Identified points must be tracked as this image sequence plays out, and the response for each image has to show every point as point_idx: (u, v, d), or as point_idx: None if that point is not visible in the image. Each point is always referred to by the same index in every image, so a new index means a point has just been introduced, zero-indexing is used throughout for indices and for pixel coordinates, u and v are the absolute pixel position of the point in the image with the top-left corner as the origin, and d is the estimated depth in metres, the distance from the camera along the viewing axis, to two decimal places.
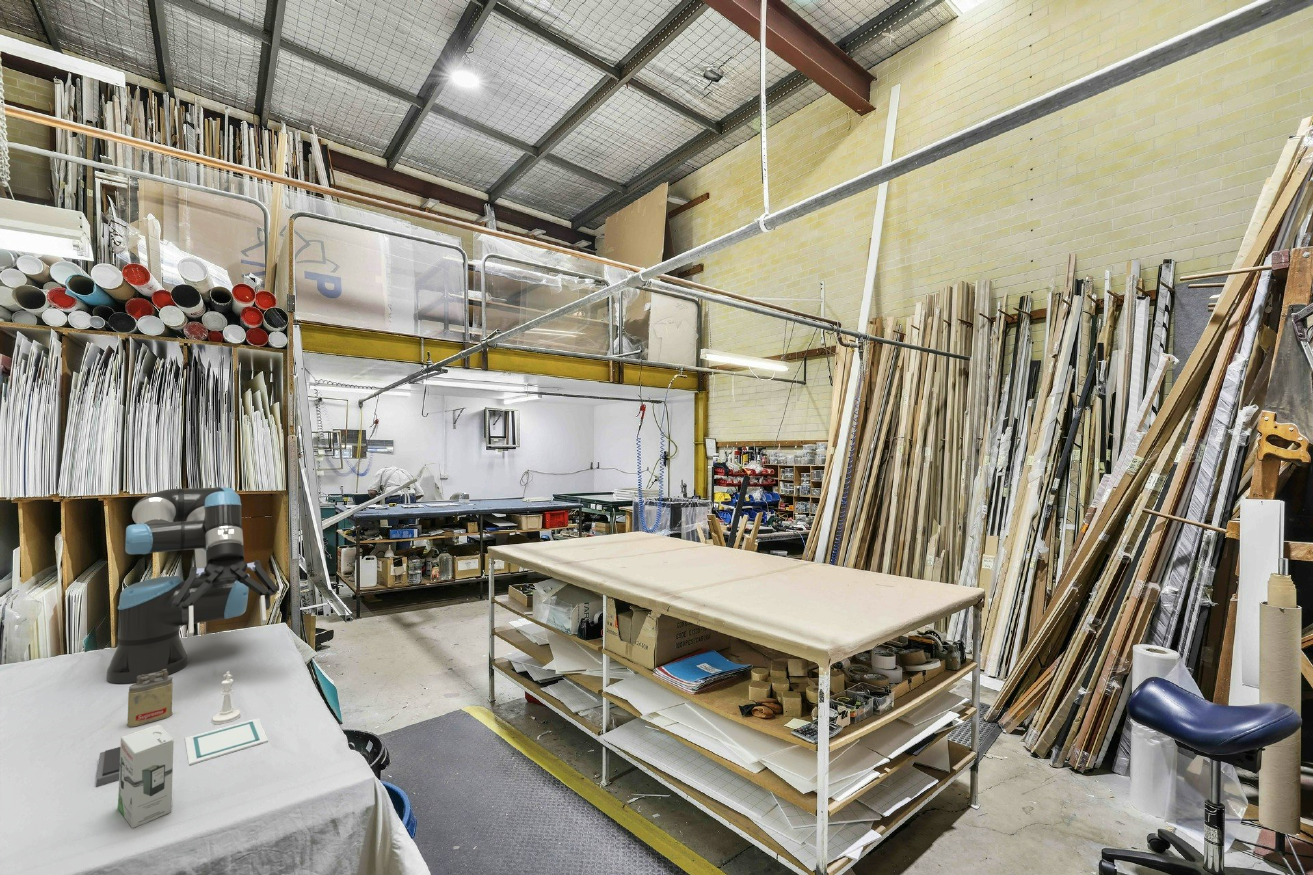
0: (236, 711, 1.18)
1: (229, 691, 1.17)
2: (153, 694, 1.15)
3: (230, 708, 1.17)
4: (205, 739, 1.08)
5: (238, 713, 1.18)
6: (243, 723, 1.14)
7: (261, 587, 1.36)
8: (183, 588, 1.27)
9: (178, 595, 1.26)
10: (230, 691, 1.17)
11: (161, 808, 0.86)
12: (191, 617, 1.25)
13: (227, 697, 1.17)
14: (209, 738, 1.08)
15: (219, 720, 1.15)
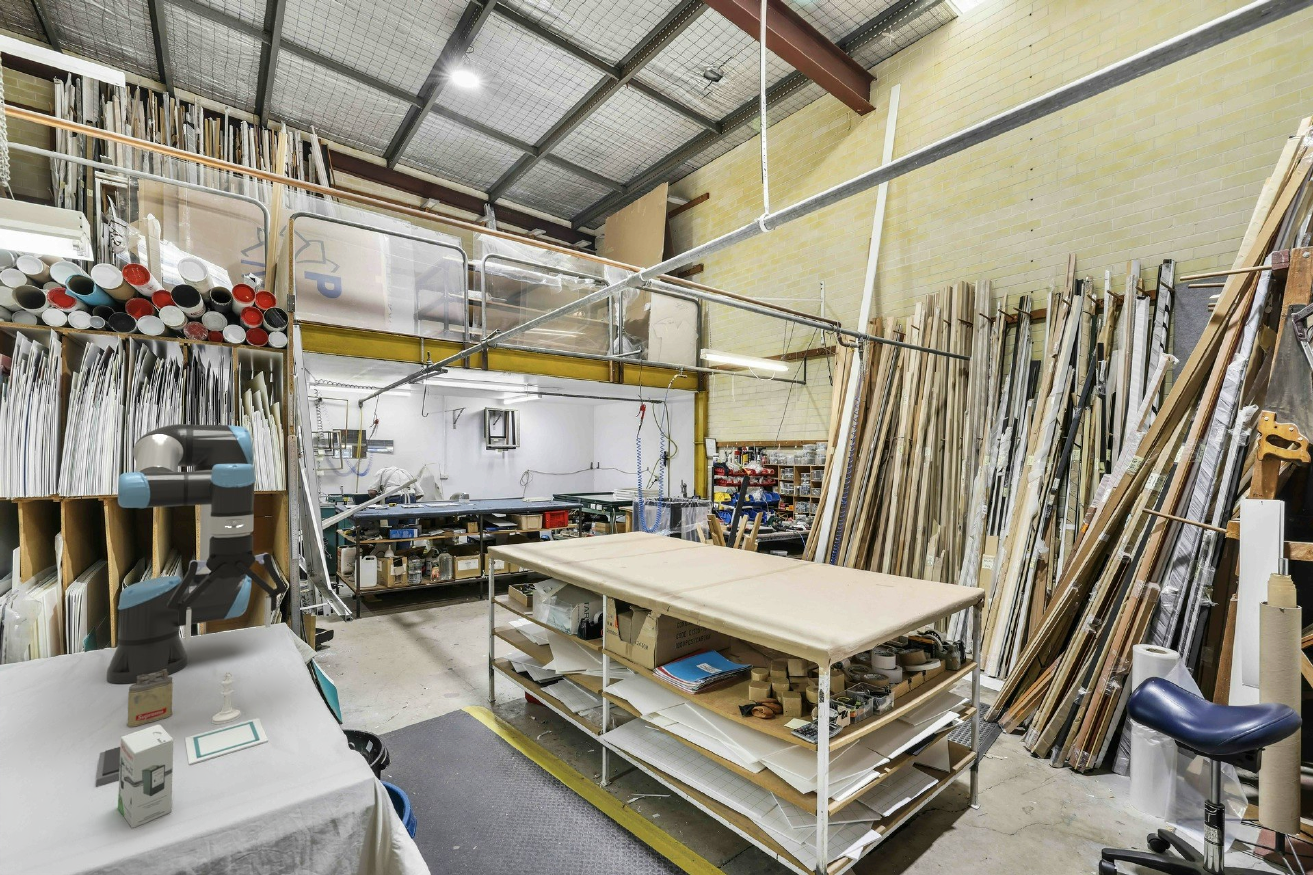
0: (236, 711, 1.18)
1: (229, 691, 1.17)
2: (153, 694, 1.15)
3: (230, 708, 1.17)
4: (205, 739, 1.08)
5: (238, 713, 1.18)
6: (243, 723, 1.14)
7: (268, 588, 1.21)
8: (181, 588, 1.11)
9: (175, 597, 1.10)
10: (230, 691, 1.17)
11: (161, 808, 0.86)
12: (188, 623, 1.12)
13: (227, 697, 1.17)
14: (209, 738, 1.08)
15: (219, 720, 1.15)
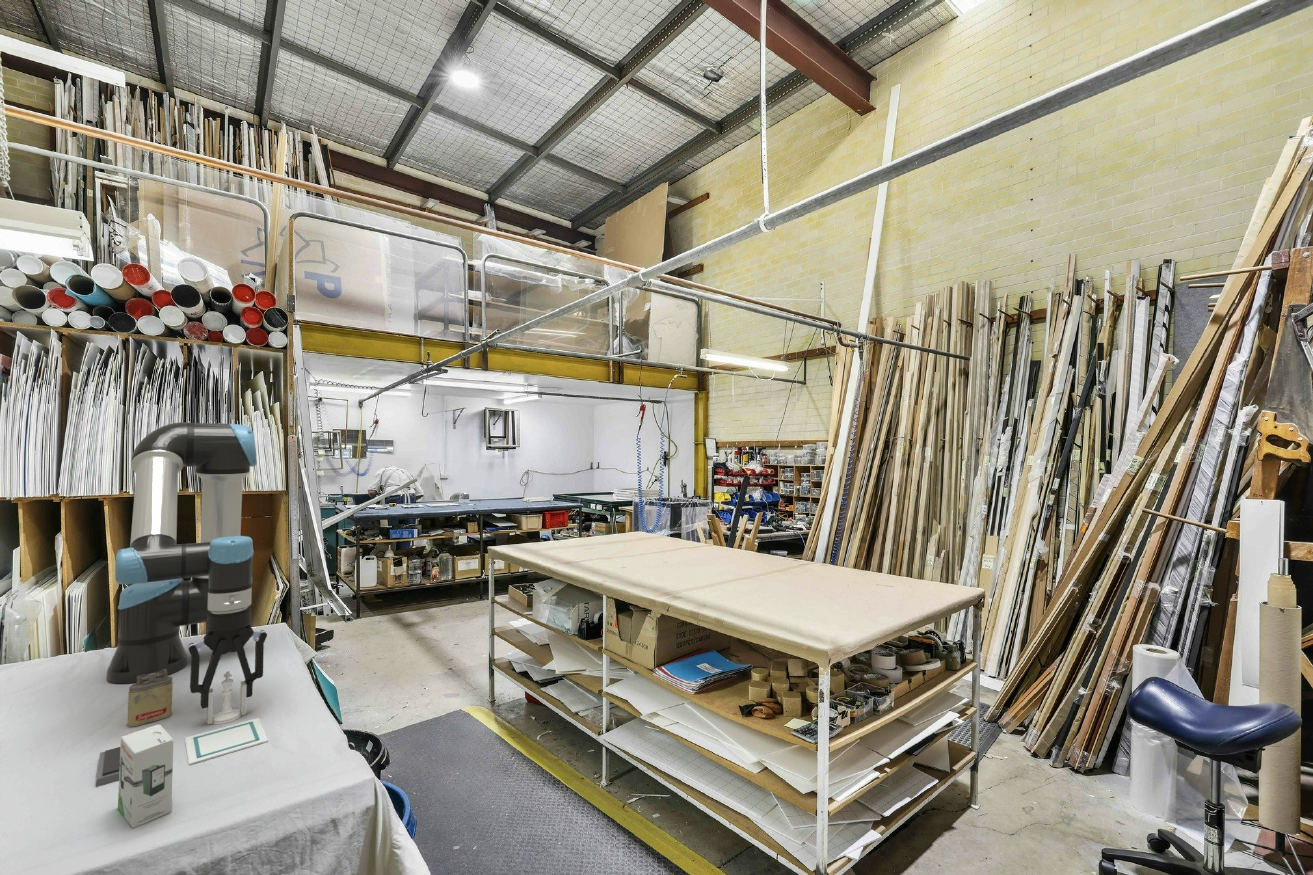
0: (236, 711, 1.18)
1: (229, 691, 1.17)
2: (153, 694, 1.15)
3: (230, 708, 1.17)
4: (205, 739, 1.08)
5: (238, 713, 1.18)
6: (243, 723, 1.14)
7: (248, 672, 1.19)
8: (194, 672, 1.12)
9: (193, 681, 1.12)
10: (230, 691, 1.17)
11: (161, 808, 0.86)
12: (211, 706, 1.14)
13: (227, 697, 1.17)
14: (209, 738, 1.08)
15: (219, 720, 1.15)
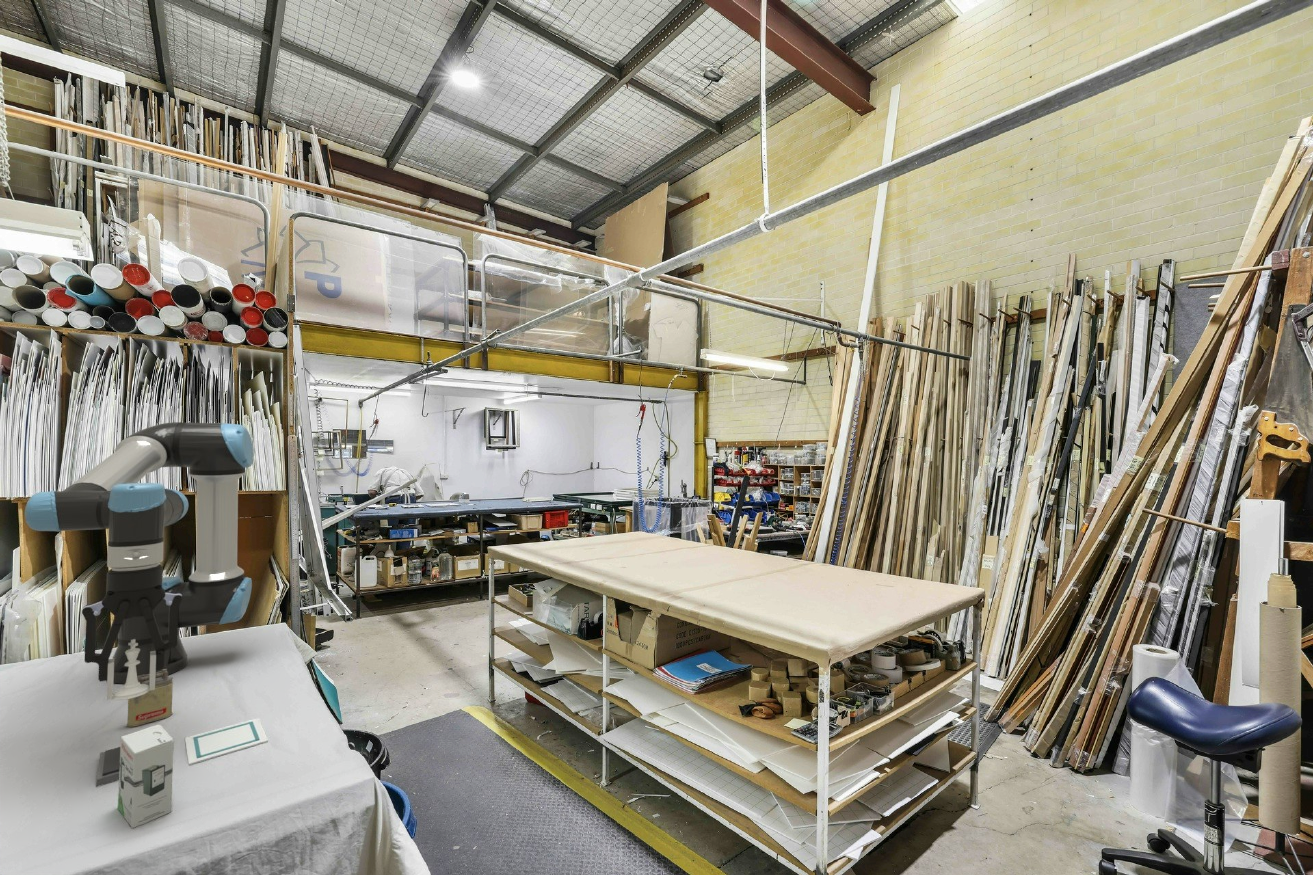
0: (144, 686, 1.01)
1: (134, 662, 1.00)
2: (153, 694, 1.15)
3: (136, 682, 1.00)
4: (205, 739, 1.08)
5: (145, 688, 1.01)
6: (243, 723, 1.14)
7: (158, 640, 1.02)
8: (88, 639, 0.96)
9: (87, 649, 0.96)
10: (136, 662, 1.00)
11: (161, 808, 0.86)
12: (110, 678, 0.98)
13: (132, 669, 1.00)
14: (209, 738, 1.08)
15: (121, 695, 0.98)
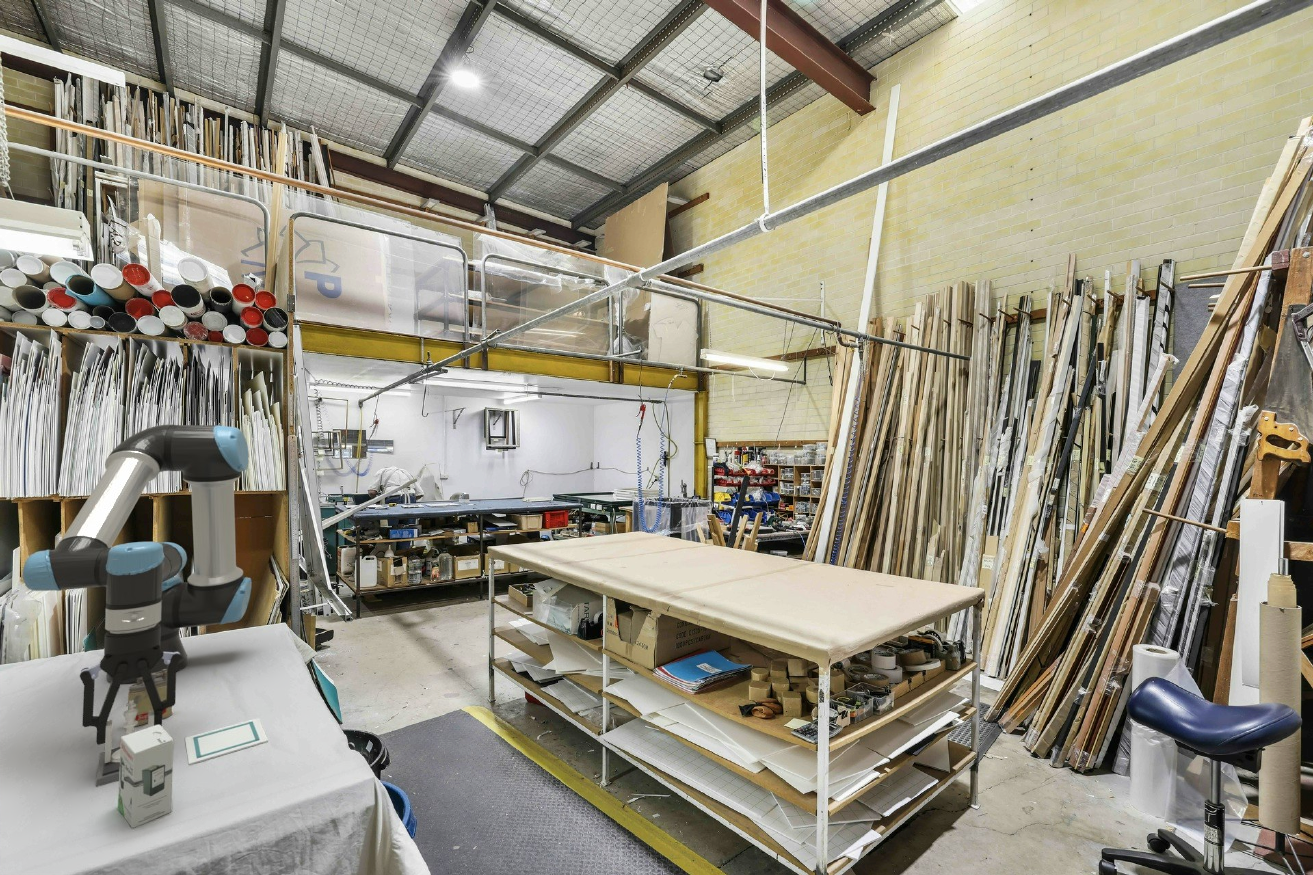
0: None
1: (132, 723, 1.00)
2: None
3: None
4: (205, 739, 1.08)
5: None
6: (243, 723, 1.14)
7: (156, 700, 1.02)
8: (86, 703, 0.96)
9: (85, 713, 0.95)
10: (134, 723, 1.00)
11: (161, 808, 0.86)
12: (108, 741, 0.97)
13: (130, 730, 1.00)
14: (209, 738, 1.08)
15: (119, 758, 0.98)
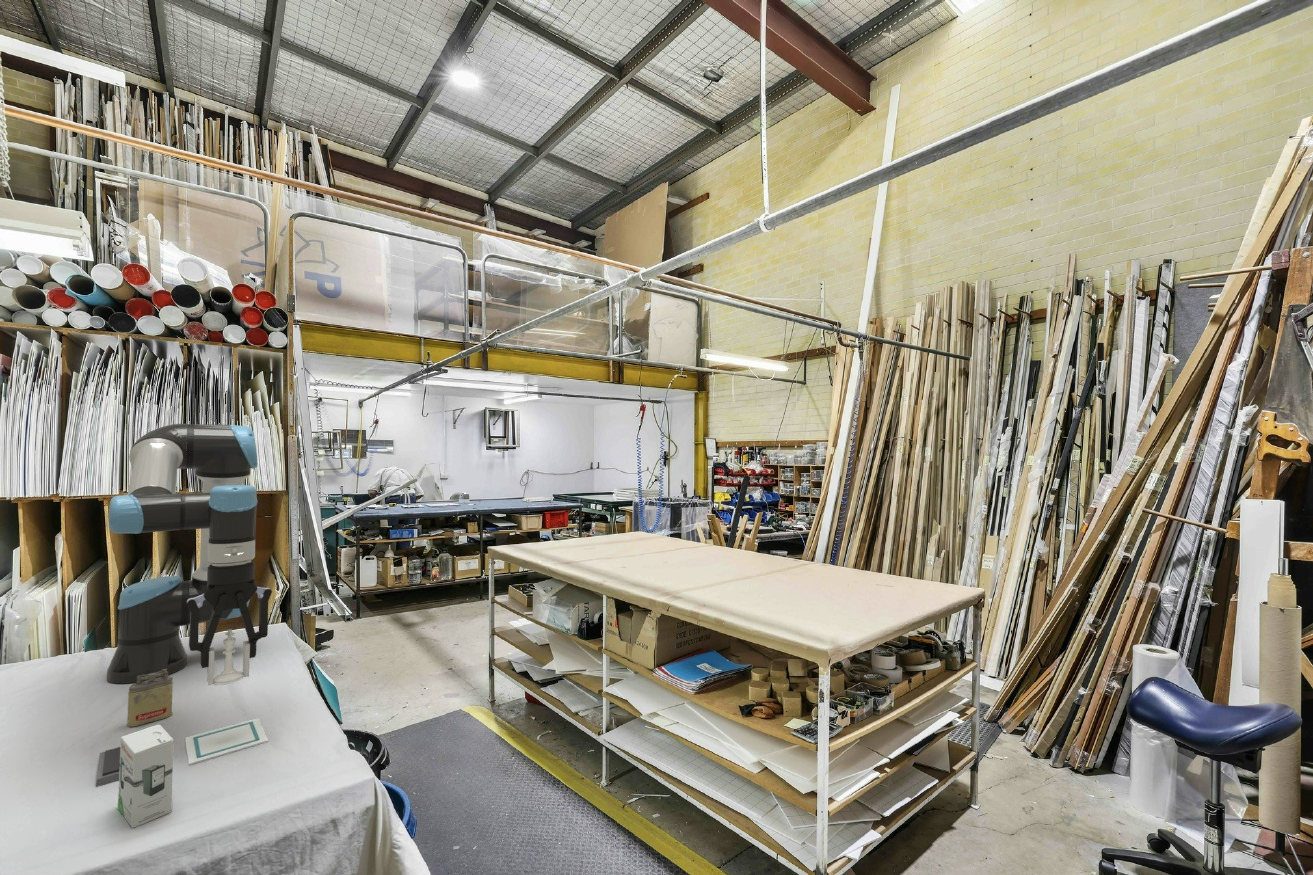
0: (239, 672, 1.10)
1: (231, 650, 1.08)
2: (152, 694, 1.15)
3: (232, 669, 1.09)
4: (205, 739, 1.08)
5: (241, 674, 1.09)
6: (243, 723, 1.14)
7: (251, 631, 1.10)
8: (193, 629, 1.04)
9: (192, 638, 1.04)
10: (232, 650, 1.09)
11: (161, 808, 0.86)
12: (211, 665, 1.06)
13: (229, 657, 1.08)
14: (209, 738, 1.08)
15: (220, 681, 1.06)
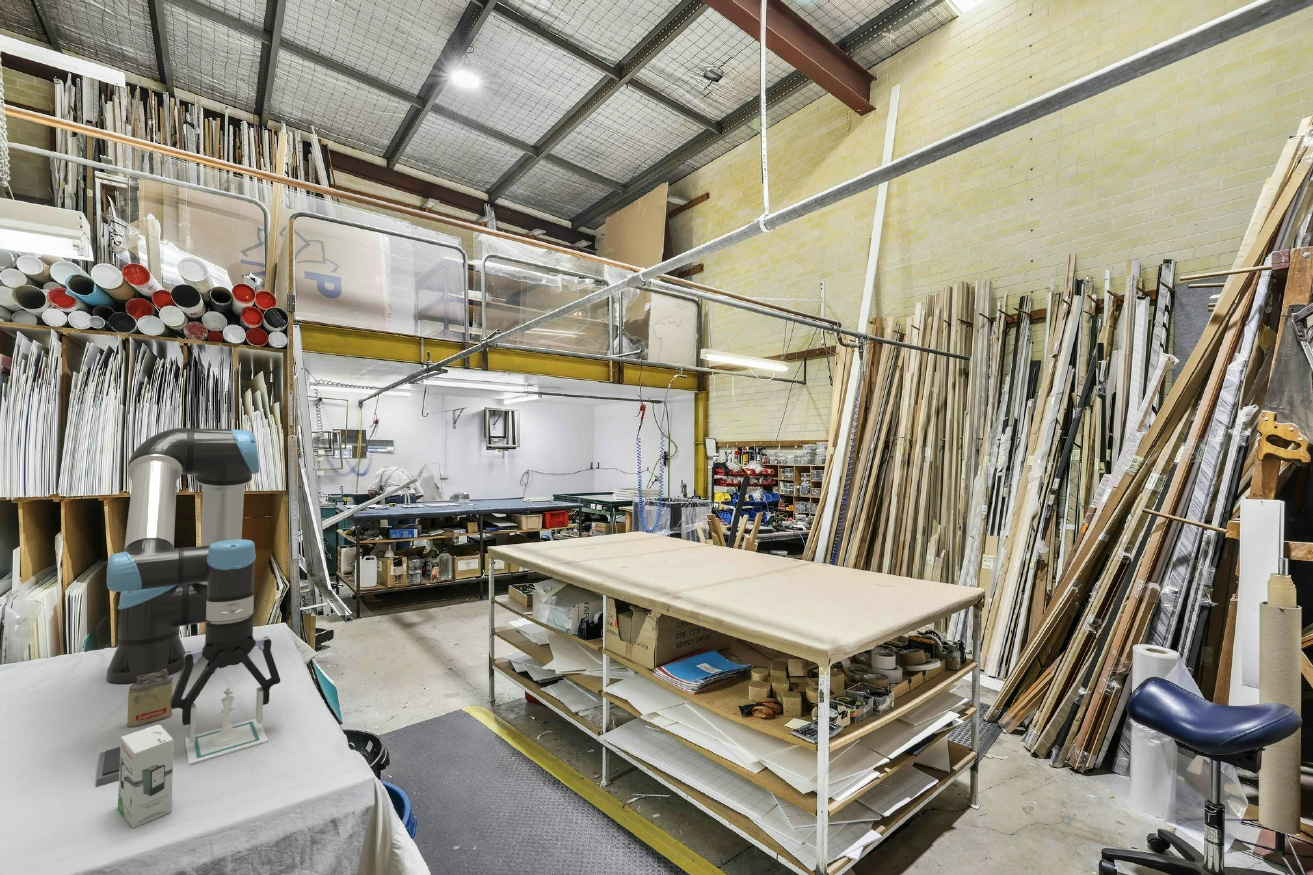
0: (237, 731, 1.09)
1: (229, 709, 1.08)
2: (153, 694, 1.15)
3: (230, 728, 1.08)
4: (205, 739, 1.08)
5: (239, 733, 1.09)
6: (243, 723, 1.14)
7: (262, 679, 1.11)
8: (181, 685, 1.03)
9: (176, 695, 1.02)
10: (230, 709, 1.08)
11: (161, 808, 0.86)
12: (193, 723, 1.04)
13: (227, 716, 1.08)
14: (209, 738, 1.08)
15: (218, 741, 1.06)
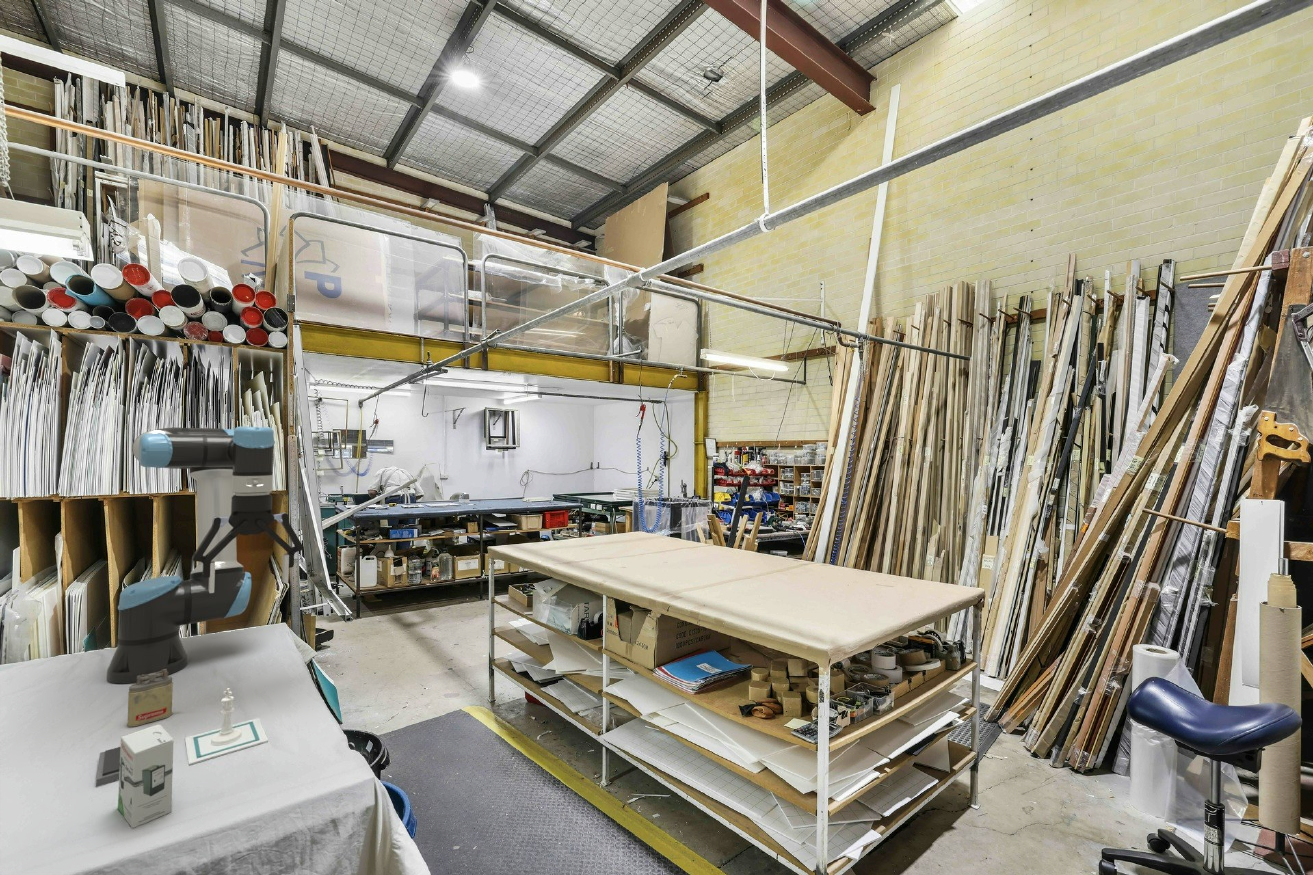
0: (237, 731, 1.09)
1: (229, 709, 1.08)
2: (153, 694, 1.15)
3: (230, 728, 1.08)
4: (205, 739, 1.08)
5: (239, 733, 1.09)
6: (243, 723, 1.14)
7: (286, 545, 1.28)
8: (205, 542, 1.18)
9: (200, 550, 1.17)
10: (230, 709, 1.08)
11: (161, 808, 0.86)
12: (212, 576, 1.18)
13: (227, 716, 1.08)
14: (209, 738, 1.08)
15: (218, 741, 1.06)
